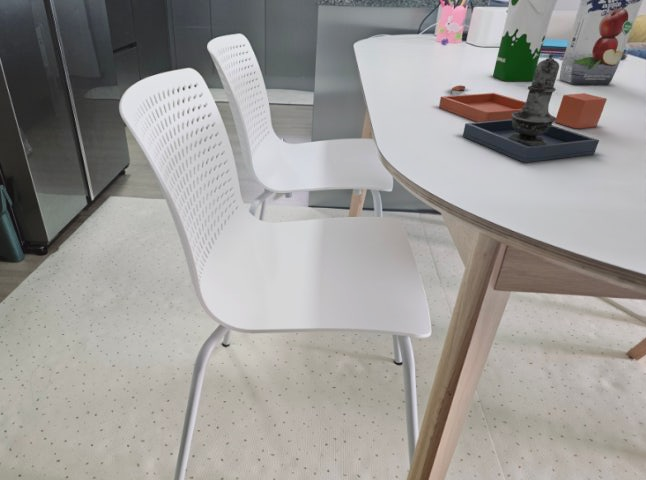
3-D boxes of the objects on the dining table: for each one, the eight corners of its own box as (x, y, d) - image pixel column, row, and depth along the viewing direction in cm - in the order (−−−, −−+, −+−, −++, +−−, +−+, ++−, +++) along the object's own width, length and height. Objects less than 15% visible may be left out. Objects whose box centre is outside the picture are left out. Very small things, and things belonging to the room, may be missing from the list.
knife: (462, 97, 94) (446, 95, 95) (461, 100, 94) (446, 98, 95) (468, 85, 104) (454, 84, 105) (467, 88, 104) (453, 87, 105)
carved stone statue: (550, 139, 70) (579, 51, 63) (544, 149, 66) (574, 56, 59) (509, 133, 73) (532, 48, 66) (500, 142, 68) (524, 52, 62)
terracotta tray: (491, 103, 93) (493, 92, 92) (542, 119, 82) (545, 107, 81) (438, 107, 89) (440, 96, 88) (484, 124, 79) (487, 112, 78)
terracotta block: (574, 120, 82) (584, 93, 79) (596, 126, 78) (607, 98, 76) (554, 122, 81) (563, 94, 78) (575, 128, 77) (585, 100, 75)
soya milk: (487, 75, 120) (508, -17, 109) (522, 75, 120) (547, -17, 109) (501, 82, 112) (526, -16, 101) (539, 82, 112) (567, -16, 102)
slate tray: (525, 130, 76) (528, 117, 75) (594, 154, 66) (599, 140, 65) (462, 136, 73) (465, 123, 72) (524, 162, 62) (528, 148, 61)
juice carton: (552, 79, 116) (592, -54, 101) (594, 79, 116) (641, -54, 101) (571, 85, 108) (617, -57, 94) (616, 86, 108) (670, -57, 94)
